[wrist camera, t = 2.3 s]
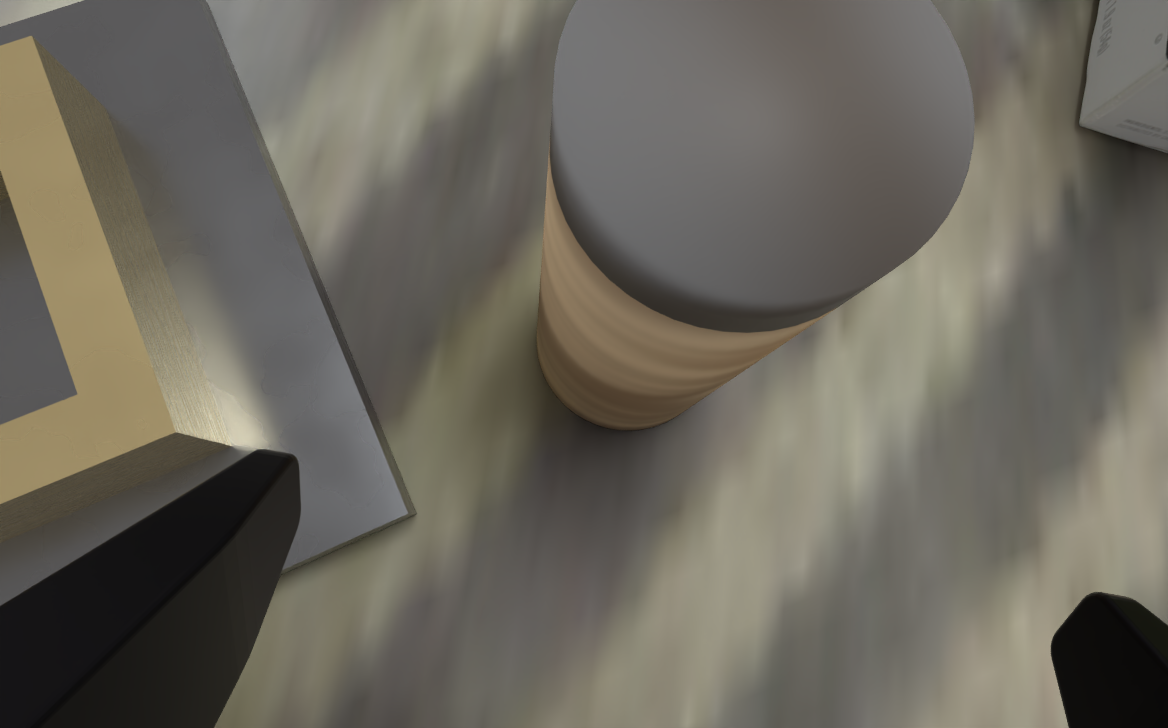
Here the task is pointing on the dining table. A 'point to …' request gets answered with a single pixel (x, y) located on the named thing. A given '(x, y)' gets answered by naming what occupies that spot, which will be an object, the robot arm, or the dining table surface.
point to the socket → (158, 296)
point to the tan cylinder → (733, 184)
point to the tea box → (1129, 73)
